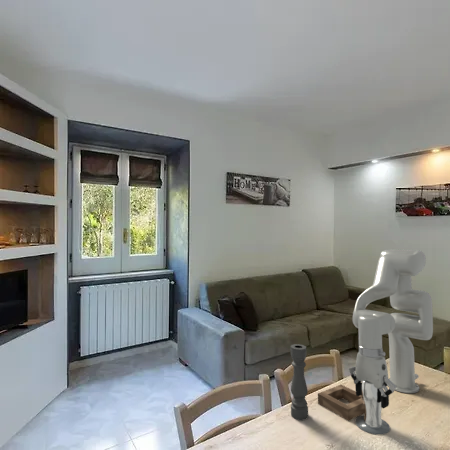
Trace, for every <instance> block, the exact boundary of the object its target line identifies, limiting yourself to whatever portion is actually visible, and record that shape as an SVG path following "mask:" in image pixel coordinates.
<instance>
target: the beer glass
mask: <svg viewBox="0 0 450 450" xmlns="http://www.w3.org/2000/svg"><path fill="white" fill-rule="evenodd" d="M361 383H362V384H361V393H362V400H363V405H364V414H363V415H364V420H363V422H364V424H365V425H366V426H368V427H370V428H374V429H379V428H381V427H382V426H383V424H382V419H383V418H382V409H383V408H382V407H381V396H382V393H381V392H380V390H379V389H378V388H375V387H374V384H371V383H367V382H365V381H364V380H362V382H361Z"/></svg>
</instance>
